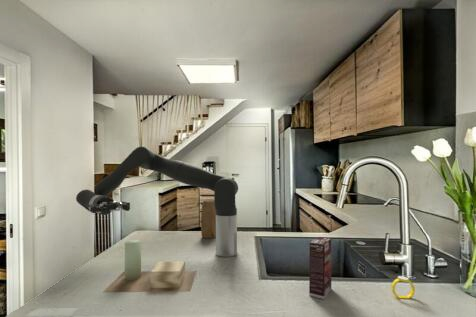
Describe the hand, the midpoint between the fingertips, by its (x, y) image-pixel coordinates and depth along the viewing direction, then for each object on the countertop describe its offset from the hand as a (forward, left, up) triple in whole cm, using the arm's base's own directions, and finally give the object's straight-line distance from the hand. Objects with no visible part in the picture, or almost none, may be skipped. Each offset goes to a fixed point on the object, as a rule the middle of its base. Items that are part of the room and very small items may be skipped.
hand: (117, 209), depth 107 cm
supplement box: (-71, +21, -23) cm, 77 cm away
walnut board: (-18, +14, -22) cm, 32 cm away
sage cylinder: (-10, +11, -21) cm, 26 cm away
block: (-31, -47, -23) cm, 61 cm away
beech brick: (-23, +15, -21) cm, 34 cm away
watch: (-94, +25, -23) cm, 100 cm away
